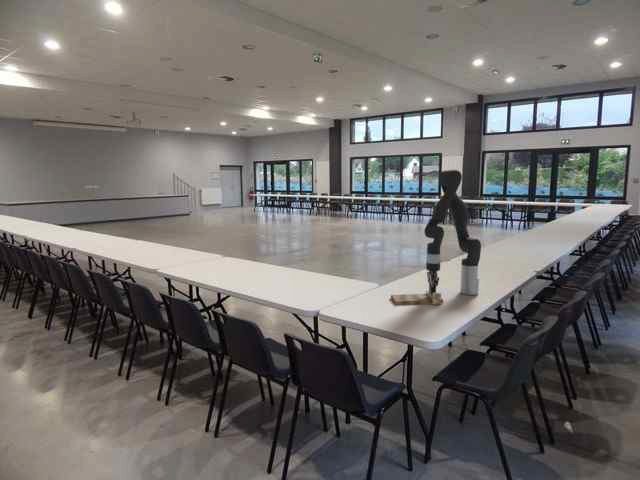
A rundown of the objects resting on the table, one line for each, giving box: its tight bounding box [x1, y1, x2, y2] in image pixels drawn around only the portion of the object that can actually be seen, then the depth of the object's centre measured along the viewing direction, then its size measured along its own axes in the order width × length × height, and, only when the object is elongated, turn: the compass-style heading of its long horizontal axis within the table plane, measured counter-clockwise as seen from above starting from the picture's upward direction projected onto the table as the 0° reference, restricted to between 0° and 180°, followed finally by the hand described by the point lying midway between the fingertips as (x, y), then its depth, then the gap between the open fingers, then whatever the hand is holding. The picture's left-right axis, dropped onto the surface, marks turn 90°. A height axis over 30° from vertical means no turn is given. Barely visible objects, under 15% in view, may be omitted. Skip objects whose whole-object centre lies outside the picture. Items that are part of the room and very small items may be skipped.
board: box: [390, 293, 444, 306], centre depth 227 cm, size 26×12×2 cm, turn 93°
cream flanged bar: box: [425, 282, 442, 305], centre depth 226 cm, size 4×15×10 cm, turn 3°
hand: (432, 291), depth 227 cm, fingers closed on cream flanged bar, 3 cm apart
